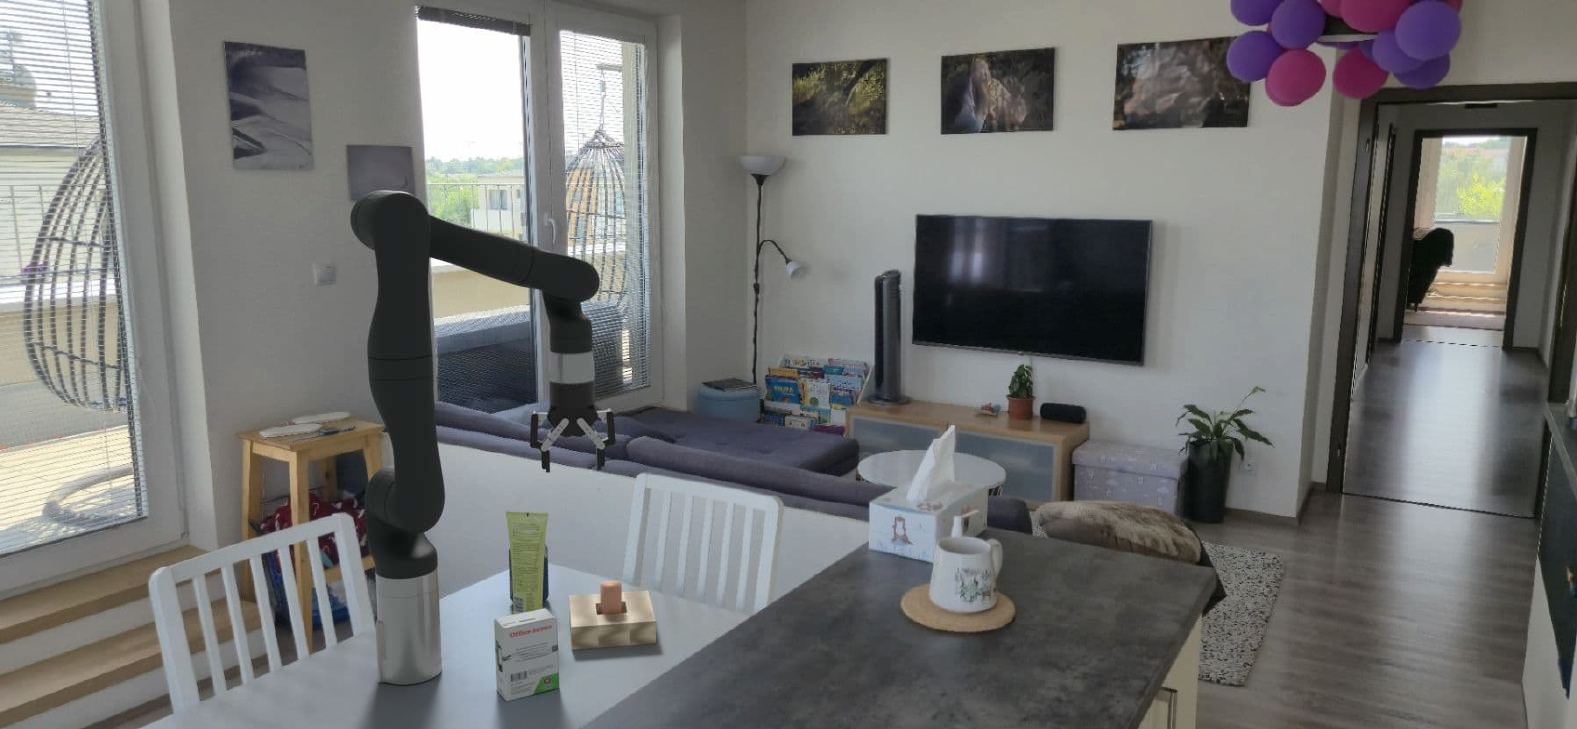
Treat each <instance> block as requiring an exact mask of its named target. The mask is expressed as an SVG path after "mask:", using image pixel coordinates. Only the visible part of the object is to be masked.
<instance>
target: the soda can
mask: <svg viewBox="0 0 1577 729" xmlns="http://www.w3.org/2000/svg"><path fill="white" fill-rule="evenodd" d="M548 551H549V550H548V546H547V544H546V543H545V552H544V570H543V599H542V604H543V605H544V604H545V603H546V601H547V599H548V597H549V595H550V594H549V592H550V591H549V590H550V588H549V552H548ZM508 563H509V564H508V566H509V568H508V570H509V572H508V573H509V598H510V601H511V602H512V603H513V583H512V566H511V553H510V548H509V549H508Z"/></svg>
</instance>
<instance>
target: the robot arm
mask: <svg viewBox="0 0 1577 729" xmlns="http://www.w3.org/2000/svg"><path fill="white" fill-rule="evenodd" d="M349 219H350V227H351V230H352V232H353V234H354V235H355V237H356V238H357V240H358V241H359V242H360V243H361V244H362V245H364V246H365V247H367V248H368V249H370V250H372V251H374V256H375V262H376V263H375V264H376V272H377V287H378V288H377V296H376V297H377V298H376V302H375V308H374V311H373V314H372V317H371V318H372V320H371V322H370V326H369V330H368V336H367V344H366V345H367V350H366V352H367V353H366V355H367V369H368V370H367V371H368V372H367V373H368V383H369V388H370V389H369V390H370V392H371V396H372V398H373V402H374V404H375V406H376V408H377V411H378V413H379V415H380V418H381V420H382V422H383V424H384V427H385V429H386V431H387V433H388V435H389V439H390V443H391V447H392V454H393V455H392V456H393V464H390V465H386V466H384V467H381V468H380V469H378V470H377V471H376V472H375V473H374V474H373V475H372V476H371V478H370V479H369V482H368V484H367V486H366V488H365V495H364V518H365V528H366V537H367V545H368V551H369V554H370V557H371V558H372V560H373V563H374V571H375V587H376V588H375V589H376V590H375V592H376V610H377V620H376V623H375V642H376V643H375V645H376V664H377V666H376V667H377V682H378V683H388V684H392V685H397V686H399V685H403V686H404V685H415V684H420V683H424V682H427V681H430V680H431V679H434V678H435V677H437V676H438V675H439V674H441V672H442V669H443V667H442V666H443V665H442V664H443V663H442V662H443V661H442V660H443V655H442V637H441V612H440V611H441V610H440V586H439V566H438V564H439V563H438V562H439V559H438V550H437V549H436V547H435V546H434V545H433V543H432V542H431V541H430V540H429V539H428V537H427V536H426V534H425V532H429V531H430V530H431V529H432V528H434V526H436V525H437V523H438V522H439V520H440V519H441V517H442V515H443V512H444V509H445V504H446V490H445V483H444V482H445V481H444V475H443V474H444V473H443V470H442V462H441V456H440V450H439V444H438V435H437V419H436V406H435V386H434V383H435V382H434V381H435V380H434V379H435V378H434V374H435V373H434V355H433V351H434V350H433V343H432V340H433V339H432V329H431V328H432V326H431V309H430V299H429V298H430V297H429V274H430V273H429V271H430V268H429V267H430V259H435V260H438V261H442V262H444V263H449V264H450V265H453V266H457V267H460V268H463V269H466V270H468V271H470V272H474V273H477V274H480V275H481V276H482V275H483V276H485V277H487V278H491V279H495V280H498V281H500V282H502V283H503V282H504V283H507V284H510V285H514V286H517V287H520V288H521V287H522V288H526V289H527V288H528V289H532V290H533V289H534V290H537V291H541V295H542V299H543V304H544V308H545V314H546V316H547V319H548V323H549V350H550V351H549V360H548V384H549V385H548V386H549V387H548V389H549V393H548V394H549V396H548V397H549V410H548V411H547V412H541V411H540V412H538V410H532V411H531V414H530V432H529V435H530V436H529V448H532V449H537V450H539V451H540V454H541V456H540V457H541V462H540V463H541V469H542V470H545V473H546V474H547V473H551V455H550V454H551V452H550V451H551V450H550V447H551V446H552V445H553V444H554V443H555V442H556V440H557V439H558V438H559V437H560V436H561V437H563V438H570V437H577V438H582V437H583V436H585V435H587V437H588V438H589V439H590V440H591V441H592V442H593V443H594V445H595V446H596V448H595V449H596V450H595V455H596V456H595V457H596V458H595V459H596V462H595V464H596V471H601V470H602V468H604V467H605V465H606V449H607V447H610V446H615V444H616V442H617V441H616V426H615V416H614V410H613V409H612V408H609V407H608V408H607V409H606V410H597V409H596V394H595V392H596V391H595V387H596V386H595V385H596V382H595V378H596V377H595V376H596V372H595V359H594V353H593V348H594V347H593V346H594V345H593V325H592V321H591V319H590V318H589V317H588V316H586V315H585V314H584V312H583V309H582V304H581V303H583V302H587V301H589V300H591V299H593V298H594V297H595V295H597V293H598V292H599V290H600V283H601V279H600V275H599V273H598V271H597V270H596V268H595V267H594V266H593V265H592V264H591V263H589V262H588V261H587V260H583V259H581V258H580V259H579V258H578V257H577V258H576V257H574V256H571V255H570V256H569V255H565V254H563V253H558V252H555V251H554V252H553V251H548V250H546V249H543V248H540V247H537V246H536V245H534V244H531V243H528V242H525V241H522V240H518V239H516V238H513V237H510V236H507V235H503V234H500V233H496V232H492V231H489V230H484V229H479V228H476V227H471V226H468V225H463V224H459V223H456V222H452V221H449V220H445V219H443V218H440V217H437V216H435V215H432V214H430V213H429V210H428V209H427V208H426V206H425V204H424V203H423V202H422V200H421V199H419V198H418V197H417V196H415V195H414V194H412V193H409V192H406V191H400V190H389V189H388V190H385V189H384V190H383V189H381V190H376V191H375V190H374V191H371V192H369V193H366V194H365V195H363V196H361V197H360V198H359V199H358V200H357V201H356V202H355V204H354V205H353V207H352V208H351V211H350V218H349ZM598 418H599V419H601V422H602V423H603V424H606V434H607V437H605V438H602V437H601V435H600V434H599V433H598V431H597V430H596V429H595V428H594V426H593V425H594V424H595V423H596V421H597V420H598ZM545 420H547V422H549V424H550V425H551V429H550V430H549V432H548V433H547V435H546V436H545V438H544V439H543V440H539V439H538V434H539V433H538V432H539V431H538V430H539V426H542V425H543V423H544V421H545Z"/></svg>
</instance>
